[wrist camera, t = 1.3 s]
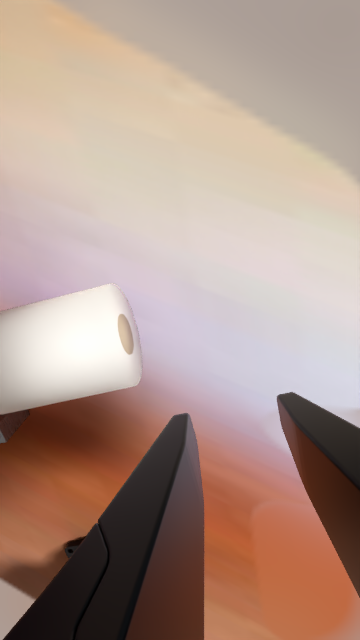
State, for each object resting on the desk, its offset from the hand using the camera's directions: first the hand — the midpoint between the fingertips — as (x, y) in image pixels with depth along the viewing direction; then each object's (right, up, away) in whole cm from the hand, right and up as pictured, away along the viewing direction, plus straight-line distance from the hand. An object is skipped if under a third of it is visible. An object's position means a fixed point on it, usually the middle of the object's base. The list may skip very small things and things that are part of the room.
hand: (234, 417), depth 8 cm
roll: (-8, +2, +12) cm, 15 cm away
